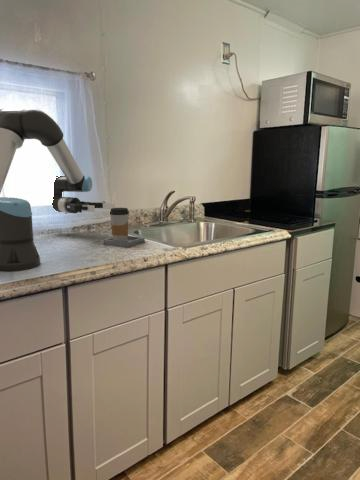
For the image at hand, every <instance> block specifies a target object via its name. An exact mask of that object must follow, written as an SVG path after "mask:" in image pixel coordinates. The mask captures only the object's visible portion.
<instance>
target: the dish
mask: <svg viewBox="0 0 360 480" xmlns="http://www.w3.org/2000/svg"><path fill="white" fill-rule="evenodd" d="M145 239H146V238H145V237H143V236H134V235H128V241H127V242H122V241H114V240H113V236H111V237H108V238H104V239H103V245H105V246H112V247H119V248H126V249H128V248H132V247H135V246H137V245H140V244H144V243H145V242H146V241H145Z"/></svg>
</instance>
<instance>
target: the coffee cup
mask: <svg viewBox="0 0 360 480" xmlns="http://www.w3.org/2000/svg"><path fill="white" fill-rule="evenodd" d="M129 216H130V210H129V209H128V208H127V207H115V208H111V209H110V211H109V217H110V225H111V237H113V240H114V241H122V242H127V241H128V236H129Z"/></svg>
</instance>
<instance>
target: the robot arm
mask: <svg viewBox="0 0 360 480" xmlns="http://www.w3.org/2000/svg"><path fill="white" fill-rule="evenodd" d="M64 139H65V138H64V132H63V131H62V129H61V127H60V125H59V124H58V123H57V122H56V121H55V120H54V118H52V117H51V116H50V115H48V113H46V112H44V111H42V110H40V109H38V108H35V107H22V108H21V107H19V108H18V107H17V108H16V107H15V108H14V107H2V108H0V194H1V192H2V191H3V190H2V189H3V187H4V184H5V183H6V180H7V179H6V178H7V176H8V173H9V170H10V169H11V168H10V167H11V165H12V162H13V160H14V156H15V154H16V152H17V150H18V149H21V147H23V145H24V142H25V140H37V141H39V142H40V143H41V145H42V146H44V147H46V148H47V150H48V151H49V153H50V154H51V156H52V157H53V160H54V161H55V162H56V164H57V166H58V167H59V168H60V171H61V172H62V175H63V176H60V177H58V176H56V177H58V178H56V180H55V182H54V197H53V199H54V200H53V203H52V205H53V208H54V209H55V210H56V211H58V212H57V213H65V214H66V215H67V214H68V213H69V214H78V213H82V212H89V213H95V209H104V210H111V208H116V206H115V203H112V202H111V203H110V202H105V201H104V200H103V202H97V201H96V202H90V201H81V200H80V198H78V197H74V196H73V197H70V196H63V197H62V192H63V193H64V192H65V193H66V192H68V193H69V192H71V193H72V192H73V193H89V192H91V191H92V189H93V180H92V177H90V175H89V176H88V175H84V174H83V172H82V170H81V169H80V167H79V165H78V163H77V162H76V159H75V158H74V156H73V154H72V152H71V150H70V148H69V146H68V145H67V143H66V141H65V140H64ZM39 265H41V256H40V255H39V252H38V250H37V247H36V245H35V242H34V232H33V212H32V208H31V203H30V202H29V201H28V200H26V199H22V198H17V197H6V196H5V197H3V196H0V271H2V272H12V271H13V272H17V271H23V270H29V269H33V268H36V267H38V266H39Z"/></svg>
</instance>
